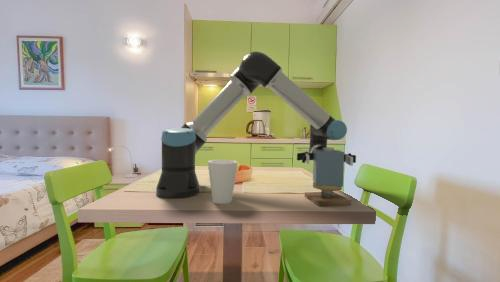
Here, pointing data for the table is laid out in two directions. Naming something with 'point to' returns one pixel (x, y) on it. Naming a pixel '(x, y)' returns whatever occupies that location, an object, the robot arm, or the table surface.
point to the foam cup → (222, 180)
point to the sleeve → (328, 168)
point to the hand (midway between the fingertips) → (329, 160)
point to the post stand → (327, 193)
